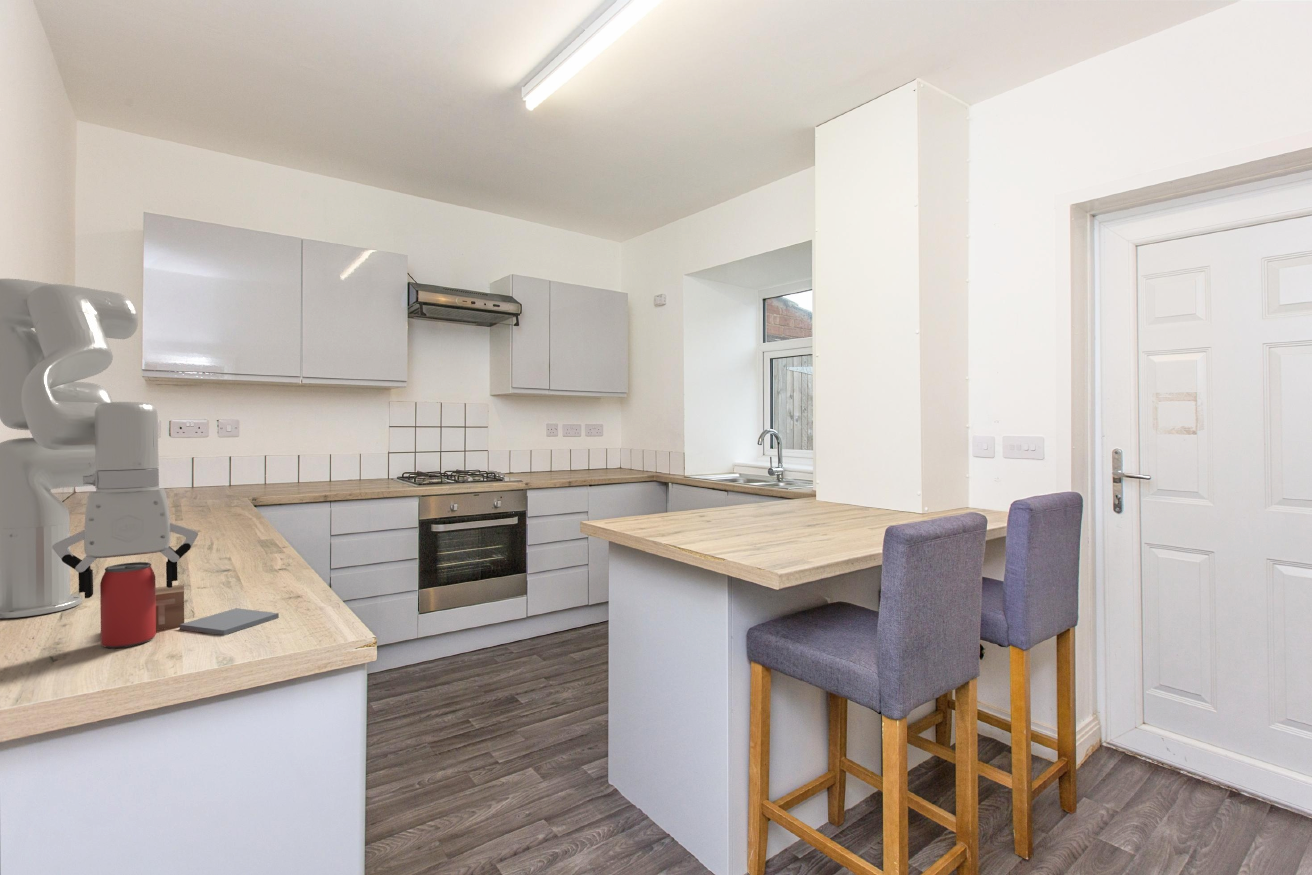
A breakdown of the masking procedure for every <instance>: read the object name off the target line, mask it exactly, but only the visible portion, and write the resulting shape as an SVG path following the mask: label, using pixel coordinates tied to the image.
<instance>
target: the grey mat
mask: <svg viewBox="0 0 1312 875" xmlns="http://www.w3.org/2000/svg"><path fill="white" fill-rule="evenodd" d="M276 619H279V612H271V611H263V610H255V609H254V610H253V609H246V608H237V607H236V608H232V609H229V610H225V611H221V612H218V613H215V614H212V615H211V614H210V615H208V616H205V617H204V616H203V617H201V618H198V619H193V620H190V621H187V622H184V623H183V624H180V627H179V630H183V631H189V632H190V631H191V632H199V633H205V634H213V635H220V636H227V635H229V634H233V633H237V632H239V631H242V630H245V629H248V628H251V627H254V626H257V625H260V624H263V623H267V622H269V621H273V620H276Z"/></svg>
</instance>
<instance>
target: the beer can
mask: <svg viewBox="0 0 1312 875" xmlns="http://www.w3.org/2000/svg"><path fill="white" fill-rule="evenodd" d="M156 587H157V586H156V574H155V571H154V570H153V568H152V563H151V562H146V561H138V562H137V561H136V562H125V563H119V564H112V565H109V566H107V567H105V568H104V573H103V575H102V577H101V581H100V584H99V588H100V590H99V591H100V594H99V595H100V644H101V645H102V646H103V647H105V648H109V649H123V648H124V649H125V648H129V647H134V646H138V645H143V644H145V643H147V642H149V641H151V640H153V639H154V638H155V637H156V634H157V630H156Z"/></svg>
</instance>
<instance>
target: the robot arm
mask: <svg viewBox="0 0 1312 875" xmlns="http://www.w3.org/2000/svg"><path fill="white" fill-rule="evenodd" d="M138 326H139V316H138V312H137V309H136V307H135V305H134V304H133V302H132V301H131V299H129V298H128V297H127V296H125V295H124V294H122V293H118V292H113V291H108V290H102V289H95V288H87V287H83V286H82V287H81V286H76V285H70V284H57V283H47V282H40V281H34V280H29V279H19V278H18V279H17V278H0V421H1V423H2V424H3V426H5V427H7V428H9V429H11V430H12V429H13V430H17V431H18V430H19V431H29V432H30V435H31V437H20V438H19V437H18V438H11V439H7V440H5V441H4V440H3V441H2V442H0V619H16V618H27V617H33V616H34V617H35V616H39V615H41V616H42V615H46V614H51V613H55V612H61V611H65V610H68V609H71V608H74V607H76V606H79V605H80V604H81V603H82V601H83V600H82V598H83V597H82V596H81V595H79V594H81V593H84V599H90V598H91V597H92V596H93V595H94V572H93V571H94V569H92V568H91V565H92V564H93V563H94V562H95V561H96V560H97V559H108V558H119V557H129V556H137V555H148V554H157V553H161V555H163V556H164V557H165V558H166V559H167V561H165V572H166V573H165V574H166V575H165V581H166V583H165V584H166V586H167V587H168V588H172V586H173V582H176V581H179V580H178V561H180V560H181V558H183V556H185V555H186V553H188V552H189V551H190V550H191V548H192V546H193V545H194V543H195V541H196V540H197V538H198V536H199V532H198V531H197V530H196V529H195V530H194V529H191V528H188V527H186V526H182V525H178V524H176V523H173V522H171V519H170V518H171V516H170V507H169V501H168V495H167V491H166V488H164V487H162V488H160V476H159V475H160V472H159V466H160V465H159V424H158V422H159V421H158V410H157V408H156V407H155V406H154V405H153V404H152V403H148V402H140V401H138V402H137V401H113V399H112V397H111V395H110V393H109V392H108V390H107V389H106V388H105V387H104V386H101V385H99V384H98V383H92V382H85V381H81V380H84V379H88V378H90V377H94V376H97V375H99V374H101V373H103V372H104V371H106V370H107V369H108V368H109V367H110V365H111V364H112V363H113V357H114V355H113V351H112V349H111V347H110V344H109V341H108V340H107V339H115V340H127V339H129V338H131V337H133V335H134V334H135V333H136V331H137V329H138ZM33 329H34V330H33ZM82 487H84V488H85V487H95V491H91V492H89V493H88V497H87V501H86V502H87V503H86V506H85V513H84V514H85V516H84V529H83V530H81V531H78V532H77V533H74V534H72V535H71V531H70V530H71V529H70V528H71V527H70V526H71V525H70V524H71V523H70V522H71V521H70V519H71V518H70V512H69V509H68V506H67V505H66V504H65V503H64V502H63V501H62V500H60V498H58V497H57V496H56V495H55V494H53V492H52V491H51V490H55V489H56V490H57V489H62V488H63V489H66V488H82ZM172 533H173V534H176V535H179V536H183V537H185V539H184V541H183V543H181V545H180V546H179V547H177V549H174V548H173V547H172V546H170V545H171V540H172V538H171V537H172V536H171V535H172ZM82 541H83V546H84V554H85V555H86V556H84V558H83V559H81V558H79V557H78V556H76V555H74V554H73V553H72V552H71V546H73V545H76V544H77V543H79V542H82ZM71 568H72V569H74V571H75V572H77V573H78V593H79V594H74V593H73V594H71Z"/></svg>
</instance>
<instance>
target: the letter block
mask: <svg viewBox="0 0 1312 875" xmlns="http://www.w3.org/2000/svg"><path fill="white" fill-rule="evenodd" d="M183 623H185V585H184V584H183V583H182V584H175V585H173V584H172V588H168V587H167V586H158V587H157V586H156V631H160V630H166V629H167V630H168V629H174V628H180V624H183Z"/></svg>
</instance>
